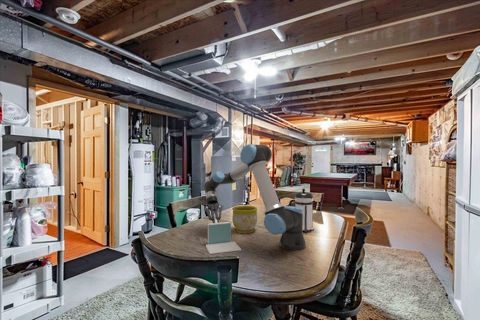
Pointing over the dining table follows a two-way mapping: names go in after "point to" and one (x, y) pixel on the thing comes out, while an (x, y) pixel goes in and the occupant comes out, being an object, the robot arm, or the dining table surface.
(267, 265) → the dining table surface
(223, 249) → the mat
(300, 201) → the coffee press
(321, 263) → the dining table surface
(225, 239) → the tile
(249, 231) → the flowerpot
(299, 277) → the dining table surface
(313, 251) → the dining table surface
